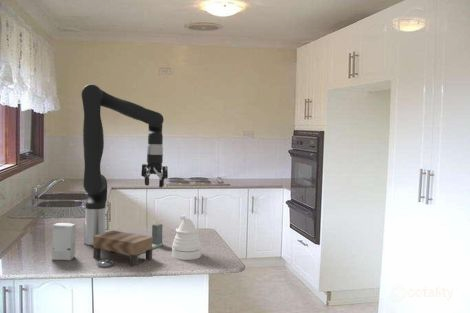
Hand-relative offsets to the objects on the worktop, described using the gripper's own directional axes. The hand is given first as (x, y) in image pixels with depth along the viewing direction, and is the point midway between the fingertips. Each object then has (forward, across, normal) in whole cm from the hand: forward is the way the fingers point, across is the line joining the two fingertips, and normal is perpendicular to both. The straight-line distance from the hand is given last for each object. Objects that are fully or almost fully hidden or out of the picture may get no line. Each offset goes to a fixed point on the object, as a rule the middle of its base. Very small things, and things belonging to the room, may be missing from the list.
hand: (154, 186), depth 228 cm
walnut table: (+27, +7, -29) cm, 41 cm away
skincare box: (+28, -14, -43) cm, 53 cm away
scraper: (+28, +7, -13) cm, 31 cm away
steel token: (+28, +7, -40) cm, 50 cm away
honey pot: (+27, +28, -11) cm, 40 cm away
